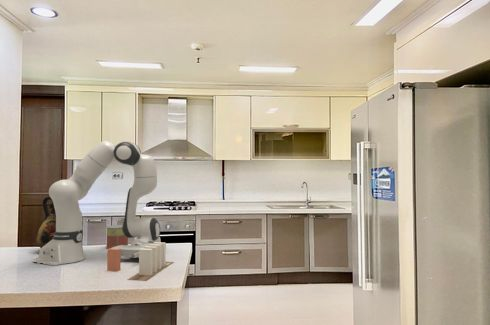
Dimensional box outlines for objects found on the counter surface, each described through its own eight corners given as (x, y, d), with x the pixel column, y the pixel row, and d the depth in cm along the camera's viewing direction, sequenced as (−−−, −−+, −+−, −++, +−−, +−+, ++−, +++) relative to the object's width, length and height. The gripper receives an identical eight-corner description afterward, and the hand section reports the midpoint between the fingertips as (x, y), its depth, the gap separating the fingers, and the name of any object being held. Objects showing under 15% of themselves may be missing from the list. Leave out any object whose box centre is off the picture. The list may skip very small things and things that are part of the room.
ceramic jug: (75, 248, 175) (76, 195, 177) (60, 254, 160) (61, 196, 161) (44, 248, 175) (45, 195, 176) (26, 255, 159) (27, 197, 161)
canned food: (120, 244, 184) (120, 224, 184) (132, 247, 177) (132, 226, 178) (102, 248, 174) (102, 226, 175) (113, 251, 168) (114, 228, 168)
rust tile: (118, 274, 128) (118, 249, 128) (107, 273, 128) (107, 249, 129) (120, 273, 129) (120, 248, 130) (109, 272, 130) (109, 248, 130)
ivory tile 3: (159, 269, 130) (159, 245, 130) (148, 268, 131) (148, 244, 131) (161, 268, 131) (161, 244, 132) (150, 267, 132) (150, 244, 133)
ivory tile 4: (155, 272, 126) (155, 247, 126) (143, 271, 127) (144, 247, 127) (157, 271, 127) (157, 246, 128) (145, 270, 128) (146, 246, 129)
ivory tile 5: (150, 275, 122) (150, 249, 122) (138, 274, 123) (139, 249, 123) (152, 274, 123) (152, 248, 124) (141, 273, 124) (141, 248, 125)
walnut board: (126, 282, 117) (126, 279, 117) (158, 263, 142) (158, 261, 142) (146, 284, 115) (146, 280, 115) (174, 264, 141) (174, 261, 141)
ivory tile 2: (163, 266, 134) (164, 243, 134) (153, 266, 134) (153, 243, 135) (165, 265, 135) (165, 242, 136) (154, 265, 136) (155, 242, 137)
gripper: (120, 241, 152) (102, 247, 138) (159, 242, 148) (145, 249, 135) (120, 254, 152) (102, 261, 138) (159, 255, 148) (144, 263, 134)
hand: (123, 255), depth 136 cm, fingers open, 8 cm apart
